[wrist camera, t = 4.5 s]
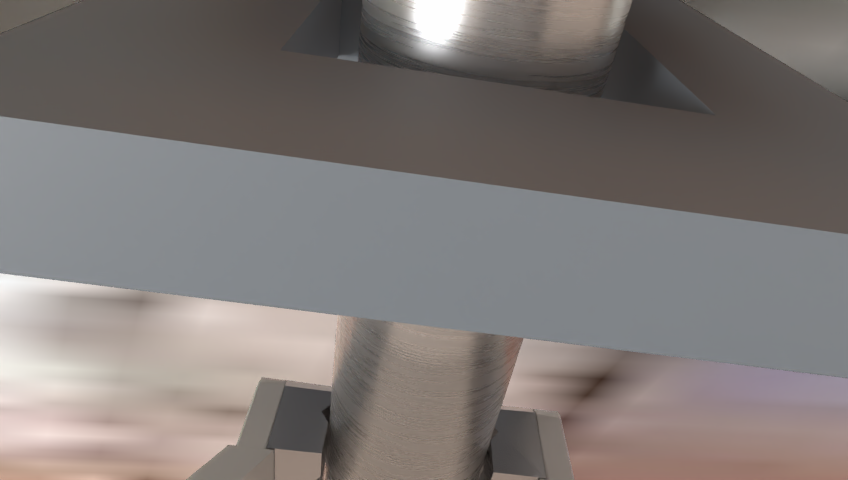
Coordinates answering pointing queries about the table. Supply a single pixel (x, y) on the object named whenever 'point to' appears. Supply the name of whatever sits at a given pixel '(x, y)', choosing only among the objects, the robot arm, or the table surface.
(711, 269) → the grey post stand
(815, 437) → the table surface
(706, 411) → the table surface
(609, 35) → the shaft
